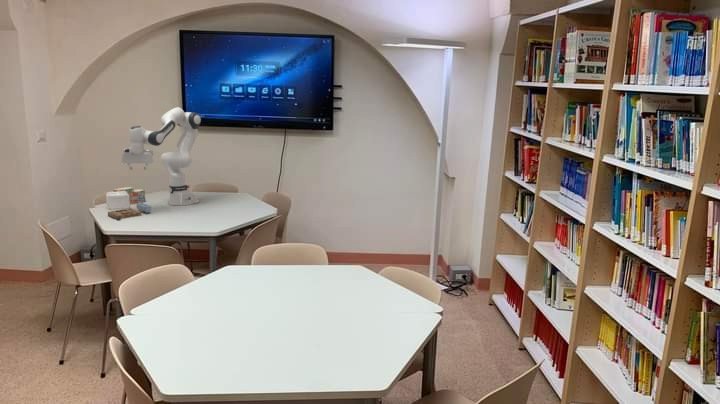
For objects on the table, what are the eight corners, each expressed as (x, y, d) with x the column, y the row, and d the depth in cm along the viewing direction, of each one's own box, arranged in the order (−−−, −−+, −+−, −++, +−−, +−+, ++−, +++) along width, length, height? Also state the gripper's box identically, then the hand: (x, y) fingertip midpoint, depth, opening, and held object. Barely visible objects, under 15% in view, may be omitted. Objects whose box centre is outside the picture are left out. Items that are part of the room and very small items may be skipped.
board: (131, 212, 360) (131, 208, 359) (141, 216, 349) (141, 212, 348) (108, 215, 348) (107, 211, 348) (117, 220, 338) (117, 216, 337)
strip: (142, 209, 364) (142, 202, 363) (151, 213, 355) (151, 205, 354) (136, 210, 361) (136, 203, 360) (145, 214, 352) (145, 206, 351)
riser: (145, 212, 361) (145, 208, 361) (148, 213, 358) (148, 209, 358) (139, 213, 358) (139, 209, 358) (142, 214, 355) (142, 210, 355)
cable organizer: (129, 206, 377) (128, 190, 375) (130, 209, 368) (128, 193, 366) (107, 207, 371) (105, 192, 369) (107, 211, 362) (105, 195, 359)
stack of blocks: (141, 200, 397) (140, 185, 394) (145, 201, 393) (144, 186, 390) (114, 205, 380) (113, 189, 377) (118, 206, 376) (117, 190, 373)
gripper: (153, 149, 358) (154, 168, 361) (122, 149, 354) (123, 168, 357) (152, 150, 352) (153, 170, 355) (120, 150, 348) (121, 170, 351)
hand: (138, 169), depth 356 cm, fingers open, 8 cm apart
